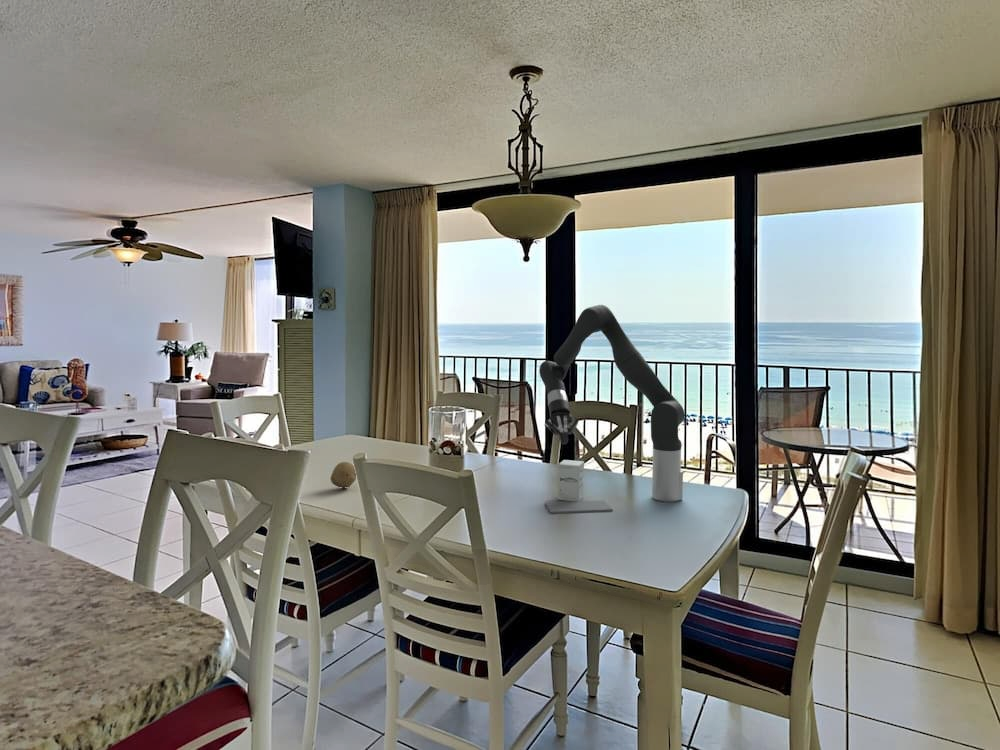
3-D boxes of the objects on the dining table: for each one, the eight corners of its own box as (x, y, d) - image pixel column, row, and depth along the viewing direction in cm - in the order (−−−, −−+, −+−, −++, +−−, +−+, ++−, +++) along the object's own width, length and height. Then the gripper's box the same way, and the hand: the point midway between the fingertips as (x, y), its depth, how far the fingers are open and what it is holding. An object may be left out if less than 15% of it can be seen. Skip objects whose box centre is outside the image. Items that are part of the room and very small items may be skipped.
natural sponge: (361, 490, 217) (360, 462, 216) (337, 494, 212) (336, 466, 211) (352, 484, 225) (351, 458, 224) (328, 488, 220) (327, 461, 219)
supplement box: (557, 500, 203) (557, 463, 202) (563, 494, 210) (563, 459, 209) (579, 502, 201) (579, 465, 199) (584, 496, 207) (584, 460, 206)
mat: (604, 501, 201) (604, 500, 201) (612, 511, 191) (612, 509, 191) (545, 504, 199) (545, 502, 199) (550, 513, 189) (550, 511, 189)
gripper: (542, 398, 223) (547, 437, 211) (577, 398, 224) (584, 436, 213) (539, 410, 228) (545, 449, 217) (574, 410, 230) (581, 448, 218)
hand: (564, 443), depth 215 cm, fingers closed
